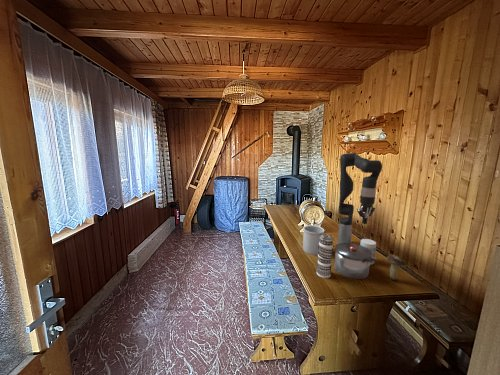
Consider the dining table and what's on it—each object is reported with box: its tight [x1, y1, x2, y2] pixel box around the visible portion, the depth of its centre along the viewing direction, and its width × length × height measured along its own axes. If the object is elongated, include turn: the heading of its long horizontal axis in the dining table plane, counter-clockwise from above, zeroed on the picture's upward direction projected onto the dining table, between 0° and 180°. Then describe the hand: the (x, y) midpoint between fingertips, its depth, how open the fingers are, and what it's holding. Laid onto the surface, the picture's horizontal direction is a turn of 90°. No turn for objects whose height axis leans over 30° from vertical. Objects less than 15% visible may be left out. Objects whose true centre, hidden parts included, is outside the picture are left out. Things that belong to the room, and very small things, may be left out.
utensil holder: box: [302, 224, 325, 256], centre depth 162 cm, size 15×15×18 cm
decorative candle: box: [315, 233, 335, 279], centre depth 131 cm, size 9×9×25 cm
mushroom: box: [386, 254, 407, 282], centre depth 127 cm, size 9×9×15 cm
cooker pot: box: [333, 251, 371, 280], centre depth 138 cm, size 20×21×12 cm
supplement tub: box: [359, 238, 377, 266], centre depth 147 cm, size 10×10×15 cm
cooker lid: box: [334, 242, 375, 262], centre depth 135 cm, size 21×24×3 cm
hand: (364, 223), depth 128 cm, fingers closed
